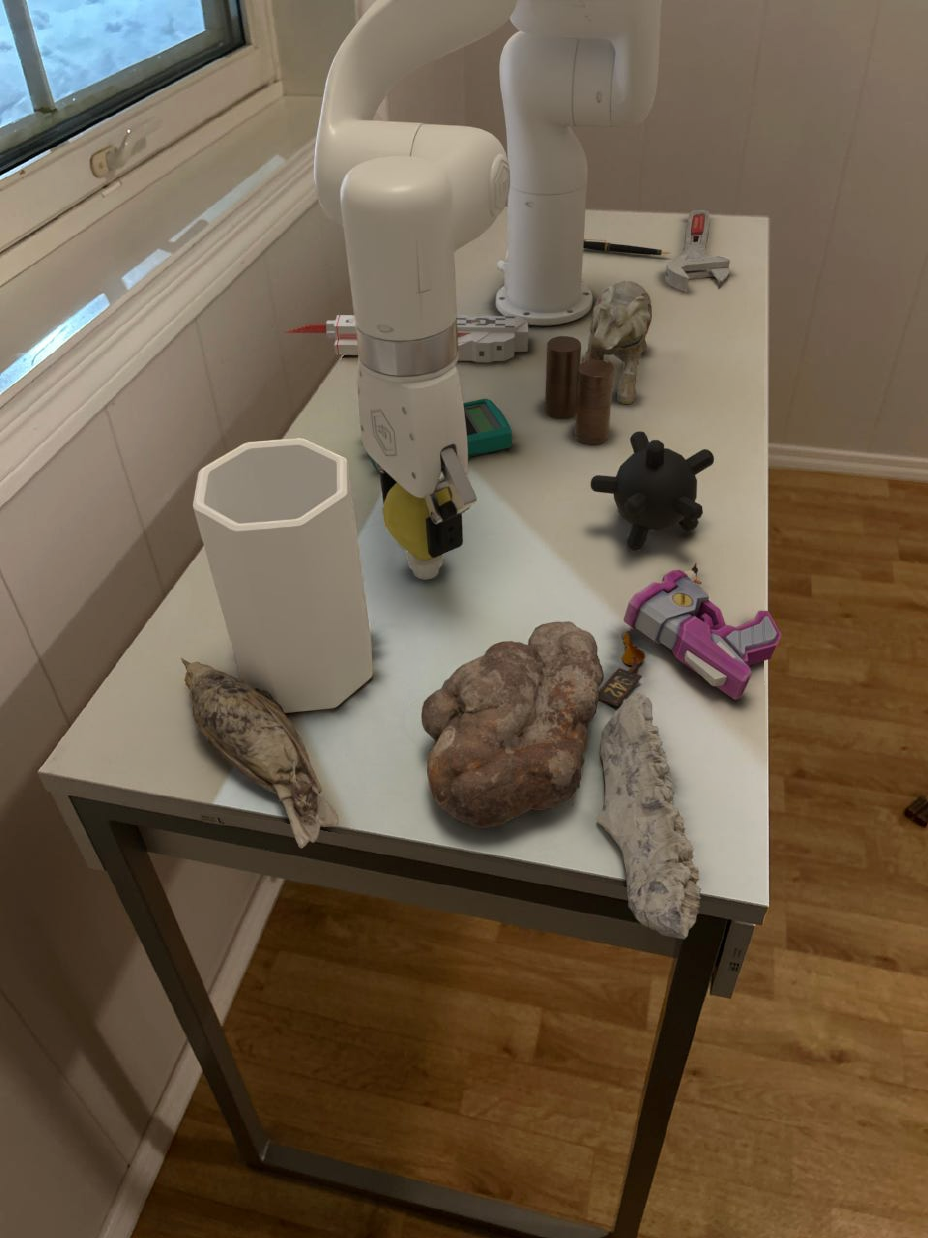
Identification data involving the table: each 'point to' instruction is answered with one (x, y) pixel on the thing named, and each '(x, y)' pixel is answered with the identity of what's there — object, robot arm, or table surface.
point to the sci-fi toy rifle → (475, 336)
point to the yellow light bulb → (412, 528)
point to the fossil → (647, 822)
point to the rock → (514, 726)
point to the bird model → (259, 745)
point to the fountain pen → (620, 248)
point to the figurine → (621, 331)
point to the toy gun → (702, 631)
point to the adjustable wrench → (696, 255)
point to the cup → (287, 570)
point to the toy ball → (655, 488)
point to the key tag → (623, 675)
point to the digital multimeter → (484, 428)
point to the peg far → (562, 376)
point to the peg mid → (594, 401)
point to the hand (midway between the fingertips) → (422, 526)
